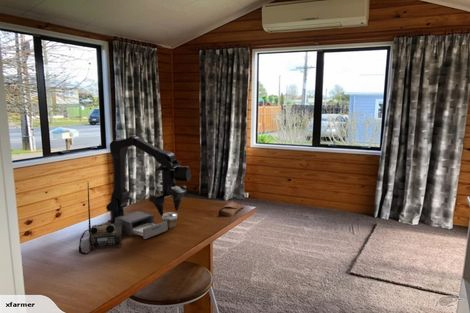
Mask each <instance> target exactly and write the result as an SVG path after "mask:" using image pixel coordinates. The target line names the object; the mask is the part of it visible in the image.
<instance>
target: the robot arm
mask: <svg viewBox="0 0 470 313" xmlns="http://www.w3.org/2000/svg"><path fill="white" fill-rule="evenodd" d="M130 147H135V148H137V149H138V150H140V151H142V152H143V153H145V154H147V155H149V156H151V157H153V158H154V160H155V161H156V162H157V163H158V164H160V165H159V167H158V168H157V169H156V171H160V172H161V182H160V183H159V185H161V190H160V192H159V193H160V194H158V193H154V194H150V195H149V196H148V202H150V203H152V204H154V206H155V208H156V209H157V212H158V213H159V215H160V216H161V217H162V216H163V214H164V205H165V199H167V198H172V200H173V206H174V210H175V211H176V212H177V211H178V210H179V208H180V205H181V201H182V200H183V199H184V198H185V197H186V196H187V195H188V190H187V186H186V185H181V186H178V182H190V181H191V178H192V172H191V169H190V166H188V165H184V166H183V165H181V163H180V162H179V161H178V159H177V158H176V155H175V153H173V152H172V151H169V150H167V149H166V150H165V149H161V148H159V147H157V146H155V145H153V144H151V143H149V142H148V141H145V140H144V139H142V138H140V136H138V135H132V136H129V137H126V138H122V139H121V138H120V139H115V140H112V141H111V142H110V143H109V151H110V155H111V157H112V159H113V179H114V180H113V181H114V182H113V185H114V188H113V190H112V193H111V196H110V202H109V203H108V204H107V205H106V207H105V208H106V210H107V212H109V213H110V219H108V220H107V222H110V224H113V223H114V224H115V218H116V217H120V216H123V215H125V212H124V210H125V209H124V208H126V206H127V204H128V203H129V202H130V201H129V200H130V199H131V197H130V193H131V192H130V190H127V189H126V174H125V172H126V168H125V167H126V165H125V161H126V156H127V153H128V150H129V148H130Z"/></svg>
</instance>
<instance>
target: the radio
mask: <svg viewBox="0 0 470 313" xmlns="http://www.w3.org/2000/svg"><path fill="white" fill-rule="evenodd" d="M89 186H90V185H89V182H87V205H88V206H87V207H88V208H87V210H88V212H87V213H88V229H85V230H84V231H83V232H82V234H81V236H80V239H79V242H78V243H79V245H78V253H79V254H80V253H81V254H80V255H88V254H89V253H91V252H92V251H94V250H95V249H97V250H99V249H104V248H114V247H118V248H122V245H123V244H122V241H123V233H122V223H115V224H114V223H107V224H106V223H105V224H95V225H91V211H90V210H91V209H90V208H91V206H90V187H89ZM87 231H88V233H89V237H88V243H89V248H88V249H89V251H88V252H87V253H86V252H85V251H83V252H82V242H83V239H84V237H85V234H86V232H87Z"/></svg>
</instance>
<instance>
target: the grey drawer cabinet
mask: <svg viewBox="0 0 470 313" xmlns="http://www.w3.org/2000/svg"><path fill="white" fill-rule="evenodd" d="M149 222H150V223H153V224H155V215H154V214H151V213H148V212H144V211H141V210H136V211H133V212H130V213H127V214H124V215H123V216H120V217H116V218H115V223H122V235H126V236H129V237H133V236H135V235H137V234H135V233H133V229H132V228H135V227H138V226H140V225H143V224H146V223H149Z"/></svg>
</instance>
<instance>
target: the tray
mask: <svg viewBox="0 0 470 313" xmlns="http://www.w3.org/2000/svg"><path fill="white" fill-rule="evenodd" d="M132 229H133V233H135V234H136V235H139V236H141V237H143V238H142V239H144V240H146V239H149V238H151V237H155V236H156V235H159V234H162V233H164V232H167V231H168V229H169V228H168V227H167V221H164V220H163V221H162V222H161V221H160V222H158V223H154V224H153V223H150V222H149V223H146V224H143V225H140V226H138V227H135V228H132Z"/></svg>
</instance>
